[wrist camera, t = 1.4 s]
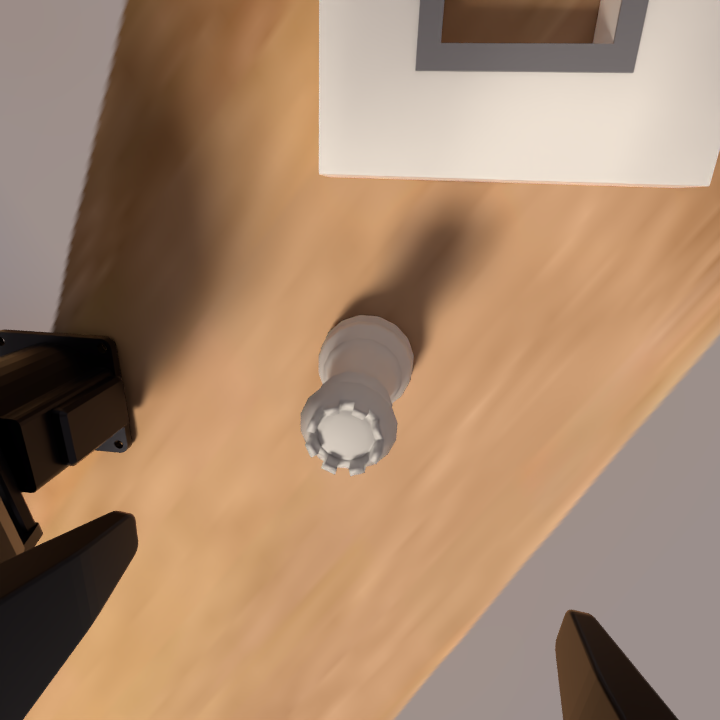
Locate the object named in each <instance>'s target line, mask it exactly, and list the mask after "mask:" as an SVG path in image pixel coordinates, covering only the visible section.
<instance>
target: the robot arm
mask: <svg viewBox="0 0 720 720" xmlns="http://www.w3.org/2000/svg"><path fill="white" fill-rule="evenodd" d="M2 338H3V339H4V340H5V342H4V341H3V339H2ZM102 344H104V345H105V346H106V348H107V350H105V349H104V348H103V346H102ZM119 441H121V442H122V443H123V445H122V444H121V443H120V442H119ZM131 445H132V440H131V434H130V428H129V418H128V411H127V405H126V399H125V393H124V387H123V381H122V379H121V373H120V366H119V360H118V354H117V348H116V344H115V342H114V341H113V340H112V339H111V338H109V337H106V336H93V335H78V334H63V333H48V332H33V331H19V330H18V331H17V330H0V720H23V719H24V718H25V716H26V715H27V713H28V712H29V711H30V709H31V708H32V707H33V705H34V704H35V702H36V701H37V700H38V698H39V697H40V696H41V694H42V693H43V692H44V690H45V689H46V687H47V686H48V685H49V683H50V682H51V681H52V679H53V678H54V677H55V675H56V674H57V672H58V671H59V670H60V668H61V667H62V666H63V664H64V663H65V661H66V660H67V659H68V657H69V656H70V655H71V653H72V652H73V651H74V649H75V648H76V646H77V645H78V644H79V642H80V641H81V640H82V638H83V637H84V635H85V634H86V633H87V631H88V630H89V628H90V627H91V625H92V624H93V623H94V621H95V619H96V618H97V616H98V615H99V613H100V612H101V610H102V608H103V607H104V605H105V603H106V602H107V600H108V598H109V597H110V595H111V593H112V592H113V590H114V589H115V587H116V585H117V584H118V582H119V580H120V579H121V577H122V575H123V574H124V572H125V570H126V569H127V567H128V565H129V564H130V562H131V560H132V559H133V557H134V555H135V553H136V551H137V548H138V537H137V528H136V520H135V517H134V516H133V514H130V513H126V512H121V511H113V512H110V513H108V514H106V515H104V516H101V517H99V518H97V519H95V520H93V521H90V522H88V523H86V524H84V525H82V526H79V527H77V528H75V529H73V530H71V531H69V532H66V533H64V534H62V535H60V536H58V537H55V538H53V539H51V540H49V541H47V542H44V543H42V544H40V545H38V546H36V547H35V545H36V544H37V542H38V541H39V539H40V538H41V536H42V535H43V532H42V530H41V528H40V525H39V523H37V522H35V521H34V519H33V517H32V515H31V512H30V510H29V508H28V506H27V504H26V502H25V499H24V497H23V495H22V492H28V493H34V492H36V491H37V490H38V489H40V488H41V487H42V486H44V485H45V484H46V483H47V482H49V481H50V480H51V479H53V478H54V477H55V476H57V475H58V474H59V473H60V472H62V471H63V470H64V469H66V468H67V467H68V466H74V465H76V464H77V463H79V462H80V461H81V460H83V459H84V458H85V457H86V456H88V455H89V454H90V453H92V452H93V451H94V450H97V451H108V452H119V453H121V452H125V451H126V450H127V449H128V448H130V447H131ZM555 647H556V648H555V651H556V661H557V669H558V678H559V687H560V696H561V705H562V713H563V720H678V718H677V717H676V716H675V715H674V714H673V712H672V711H671V710H670V709H669V707H668V706H667V705H666V704H665V703H664V701H663V700H662V699H661V698H660V696H659V695H658V694H657V693H656V692H655V690H654V689H653V688H652V687H651V686H650V684H649V683H648V682H647V681H646V679H645V678H644V677H643V676H642V675H641V673H640V672H639V671H638V670H637V669H636V667H635V666H634V665H633V664H632V662H631V661H630V660H629V659H628V658H627V657H626V655H625V654H624V653H623V651H622V650H621V649H620V648H619V647H618V645H617V644H616V643H615V642H614V640H613V639H612V638H611V637H610V636H609V635H608V633H607V632H606V631H605V630H604V628H603V627H602V626H601V625H600V624H599V622H598V621H597V620H596V619H595V618H594V617H593V616H592V615H590V614H589V613H585V612H580V611H576V610H568V611H567V612H566V614H565V616H564V619H563V622H562V625H561V627H560V630H559V633H558V636H557V639H556V646H555Z"/></svg>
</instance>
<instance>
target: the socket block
mask: <svg viewBox="0 0 720 720" xmlns="http://www.w3.org/2000/svg"><path fill="white" fill-rule="evenodd" d="M443 12H444V0H319V174H321V175H324V176H327V177H345V178H377V179H408V180H440V181H471V182H503V183H534V184H566V185H597V186H629V187H660V188H686V187H703V186H709V185H710V182H711V178H712V175H713V171H714V168H715V164H716V161H717V157H718V154H719V150H720V0H601V1H600V6H599V12H598V17H597V23H596V28H595V34H594V39H593V44H570V43H441V37H442V24H443Z"/></svg>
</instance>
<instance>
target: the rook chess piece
mask: <svg viewBox="0 0 720 720" xmlns="http://www.w3.org/2000/svg"><path fill="white" fill-rule="evenodd" d="M413 360H414V355H413V352H412V349H411V346H410V343H409V340H408V338H407V337H406V336H405V335H404V333H403V332H402V331H401V330H400V329H399V328H398V327H397V326H396V325H395V324H393V323H391V322H389V321H387V320H385V319H383V318H381V317H379V316H367V315H358V316H355V317H352V318H349V319H346V320H342V321H341V322H340V323H339V324H338V325H336V326H335V327H334V328H333V329H332V330H331V331H330V332H328V335H327V337H326V339H325V341H324V343H323V345H322V347H321V351H320V353H319V375H320V378H321V380H322V383H323V384H322V386H321V388H320V389H319V390H318V391H316V392H315V393H314V394H313V395H312V396H310V397H309V398H308V400H307V402H306V404H305V406H304V408H303V410H302V412H301V432H302V435H303V437H304V439H305V442H306V444H305V446H306V448H307V450H308V452H309V455H310V457H313V456H315V455H317V456H318V457H319V458H320V459H321V460H323V464H322V467H321V468H322V469H324V470H326V471H329V472H331V473H333V474H335V473H336V469H337V467H340V468H349V472H350V476H353V475H357V474H361V473H365V467H366V466H371V465H374V464H377V462H378V461H379V460H381V459H382V458H383V457H385V456H386V455H387V454H388V453H389V451H390V449H391V448H392V446H393V444H394V442H395V441H396V433H397V420H396V418H395V415H394V412H393V409H392V403H393V402H394V401H396V400H397V399H398V398H400V397H401V396H402V394H403V393H404V391H405V389H406V387H407V386H408V384H409V382H410V380H411V374H412V370H413Z"/></svg>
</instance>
